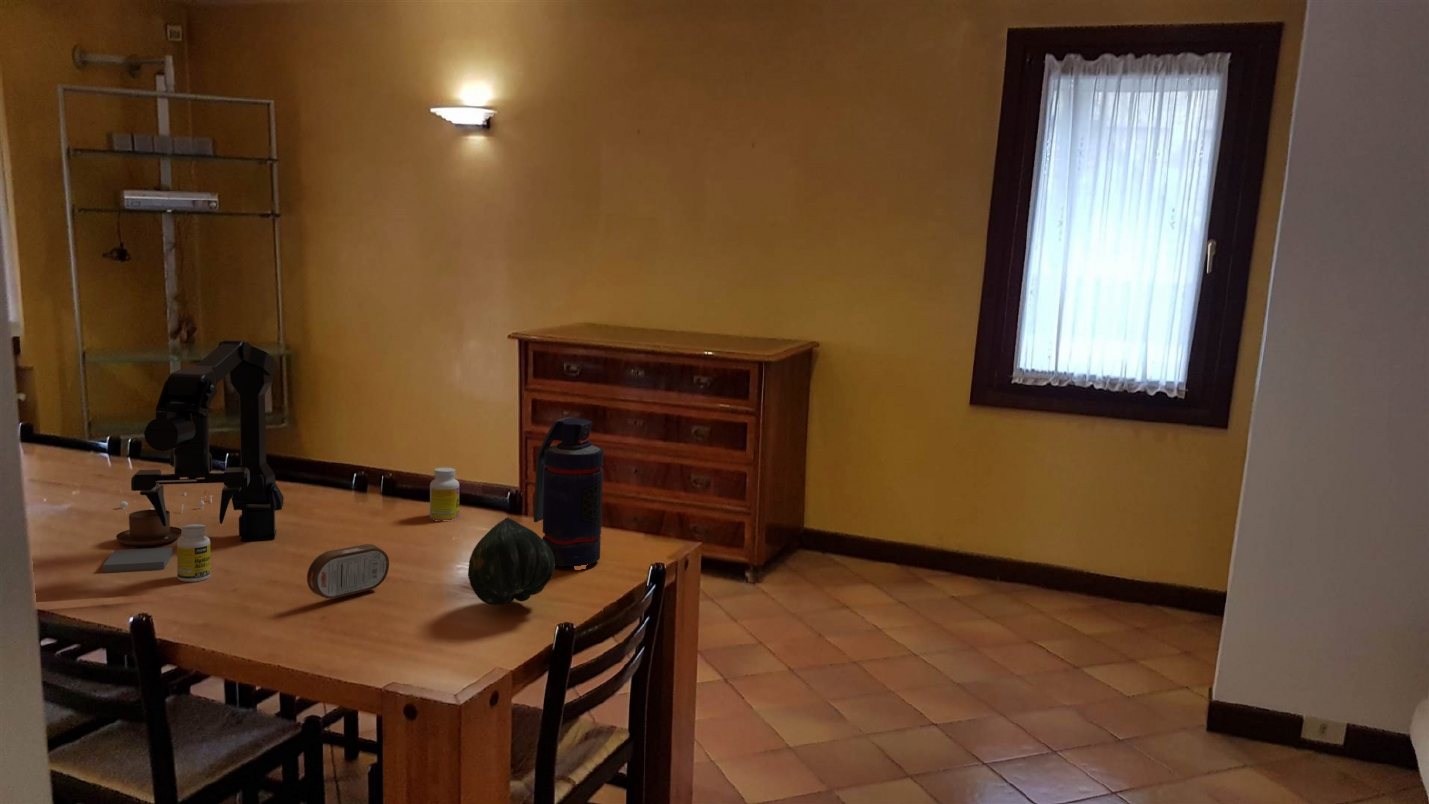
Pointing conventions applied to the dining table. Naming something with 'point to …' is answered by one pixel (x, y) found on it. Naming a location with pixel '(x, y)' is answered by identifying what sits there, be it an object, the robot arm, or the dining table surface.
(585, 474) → the grenade
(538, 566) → the squash
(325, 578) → the tin
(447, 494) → the supplement bottle
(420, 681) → the dining table surface
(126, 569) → the charcoal block
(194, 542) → the supplement bottle
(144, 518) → the cup and saucer
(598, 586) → the dining table surface
